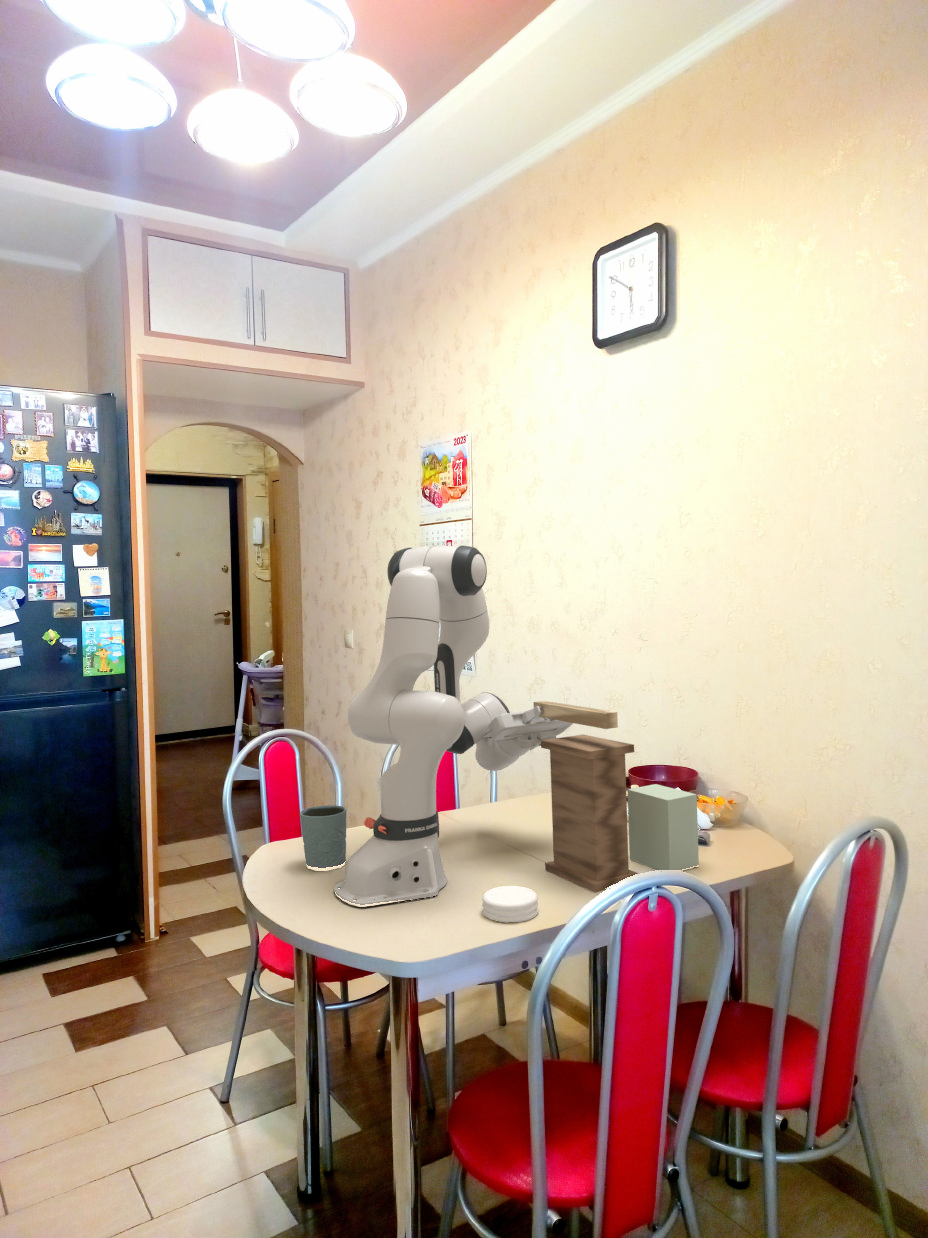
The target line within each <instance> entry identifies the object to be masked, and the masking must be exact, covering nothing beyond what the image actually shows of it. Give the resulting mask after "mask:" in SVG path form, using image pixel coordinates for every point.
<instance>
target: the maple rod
mask: <svg viewBox="0 0 928 1238" xmlns="http://www.w3.org/2000/svg"><path fill="white" fill-rule="evenodd" d="M536 706H543V709H544V714H542V715H541V716H538V717H543V718H548V719H554V720H559V721H564V722H570V723H573V724H576V725H580V726H581V725H582V726H587V727H591V728H592V727H593V728H597V729H603V730H610V729H616V728H619V725H618V724H619V722H618V711H611V710H605V709H598V708H593V707H586V706H580V705H579V706H578V705H574V704H567V703H560V702H554V701H547V700H542V701H541V700H540V701H533V708H535V707H536Z"/></svg>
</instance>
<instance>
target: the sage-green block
mask: <svg viewBox="0 0 928 1238" xmlns="http://www.w3.org/2000/svg"><path fill="white" fill-rule="evenodd" d="M697 797H698V794H696V793H693V792H688V791H685V790H681V789H677V788H673V787H669V786H664V785H662V784H657V783H655V784H654V783H652V784H649V785H644V786H640V787H639V786H638V787H634V788H628V789H627V821H628V852H629V860H631V861H633V862H636V863H638V864H641V865H644V866H647V867H649V868H651V869H654V870H657V871H659V870H682V869H686V868H690V867H693V866H697V865H700V864H699V863H700V862H699V860H700V859H699V856H700V855H699V831H698V830H699V829H698V827H699V825H698V822H699V821H698V799H697ZM684 871H685V872H686V870H684ZM684 871H683V872H684Z"/></svg>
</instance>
